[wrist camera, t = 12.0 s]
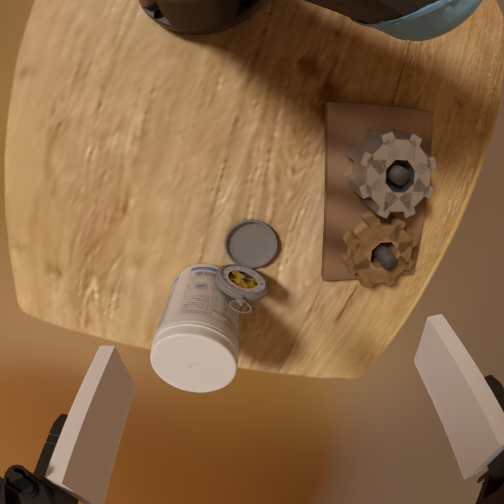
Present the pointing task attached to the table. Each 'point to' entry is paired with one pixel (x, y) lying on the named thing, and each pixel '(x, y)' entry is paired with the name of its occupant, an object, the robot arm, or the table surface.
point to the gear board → (358, 212)
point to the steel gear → (379, 159)
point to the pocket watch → (246, 261)
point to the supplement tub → (197, 333)
